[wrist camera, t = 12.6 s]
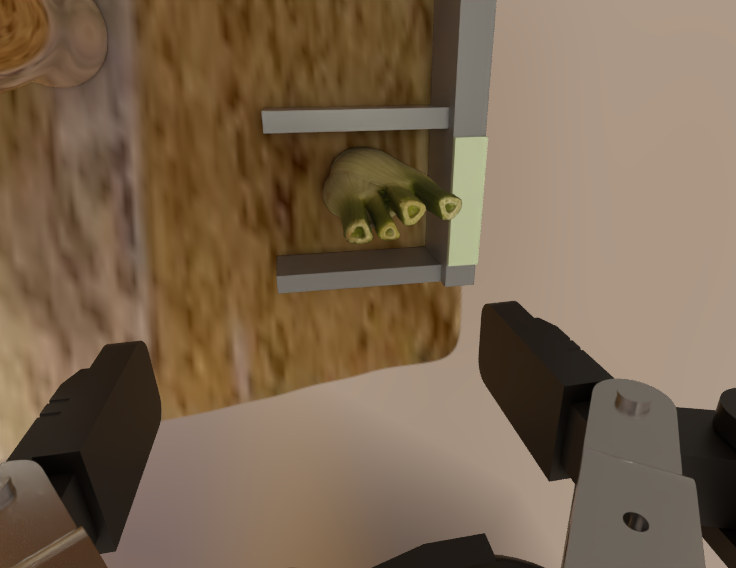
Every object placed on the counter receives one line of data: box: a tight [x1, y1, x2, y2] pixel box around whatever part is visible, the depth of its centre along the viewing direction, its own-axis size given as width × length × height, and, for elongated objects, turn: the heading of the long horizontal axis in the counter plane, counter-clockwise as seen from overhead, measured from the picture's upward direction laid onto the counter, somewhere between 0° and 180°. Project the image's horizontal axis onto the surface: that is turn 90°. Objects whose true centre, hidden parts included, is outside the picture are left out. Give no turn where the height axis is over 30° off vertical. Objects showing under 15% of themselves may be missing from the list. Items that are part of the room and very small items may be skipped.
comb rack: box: [261, 0, 496, 293], centre depth 29 cm, size 21×13×5 cm, turn 1°
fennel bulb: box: [323, 147, 462, 244], centre depth 28 cm, size 6×5×12 cm
